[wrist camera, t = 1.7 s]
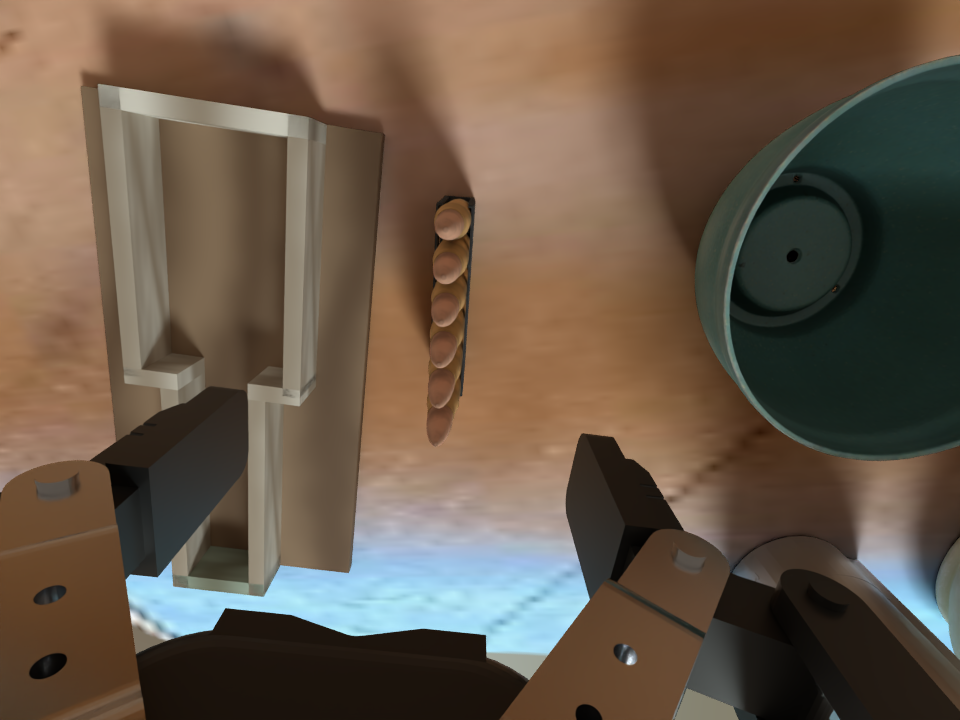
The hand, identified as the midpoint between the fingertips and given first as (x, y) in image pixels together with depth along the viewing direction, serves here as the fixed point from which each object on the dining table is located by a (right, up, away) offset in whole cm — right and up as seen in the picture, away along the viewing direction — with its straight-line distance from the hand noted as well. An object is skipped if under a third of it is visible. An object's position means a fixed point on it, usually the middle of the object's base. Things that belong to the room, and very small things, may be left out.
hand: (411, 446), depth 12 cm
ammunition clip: (0, +7, +19) cm, 20 cm away
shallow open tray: (-14, +2, +20) cm, 25 cm away
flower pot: (+20, +9, +18) cm, 28 cm away
